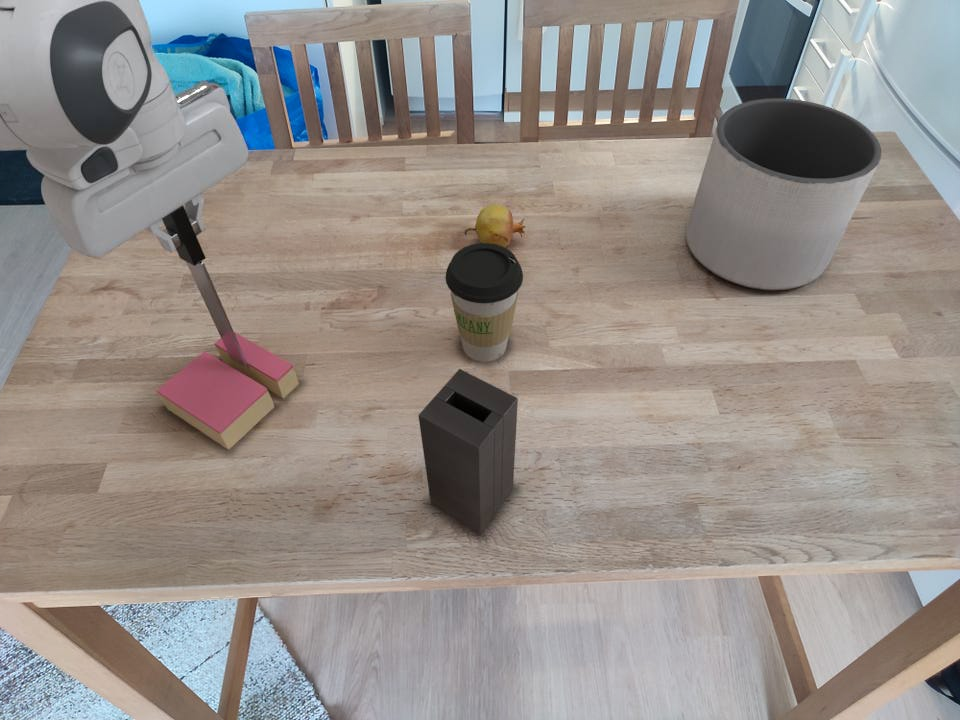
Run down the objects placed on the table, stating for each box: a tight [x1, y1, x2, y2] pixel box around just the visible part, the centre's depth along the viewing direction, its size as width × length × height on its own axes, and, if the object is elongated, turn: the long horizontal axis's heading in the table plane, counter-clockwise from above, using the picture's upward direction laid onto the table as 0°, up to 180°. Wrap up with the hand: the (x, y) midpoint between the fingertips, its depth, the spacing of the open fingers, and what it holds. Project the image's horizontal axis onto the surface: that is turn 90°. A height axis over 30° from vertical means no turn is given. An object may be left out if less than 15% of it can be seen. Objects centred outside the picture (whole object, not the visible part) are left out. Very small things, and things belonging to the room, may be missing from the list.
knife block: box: [417, 368, 519, 536], centre depth 71 cm, size 7×7×18 cm
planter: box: [685, 97, 882, 291], centre depth 98 cm, size 22×22×20 cm
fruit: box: [463, 204, 527, 248], centre depth 105 cm, size 7×7×10 cm
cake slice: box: [213, 331, 300, 399], centre depth 89 cm, size 3×12×4 cm, turn 56°
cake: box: [155, 350, 275, 450], centre depth 85 cm, size 8×12×4 cm
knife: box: [161, 205, 249, 370], centre depth 76 cm, size 2×3×25 cm, turn 57°
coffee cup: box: [444, 242, 524, 363], centre depth 87 cm, size 10×10×15 cm
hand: (184, 239), depth 70 cm, fingers closed on knife, 2 cm apart
